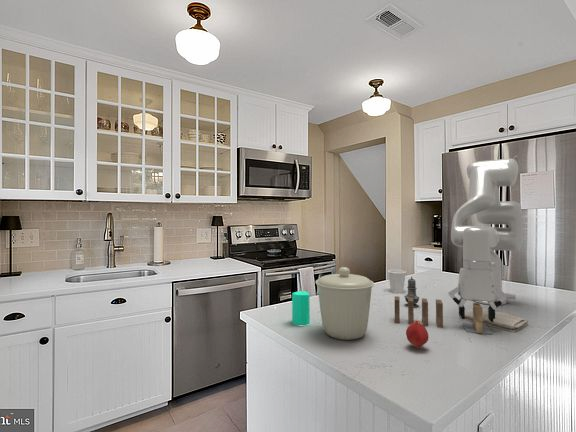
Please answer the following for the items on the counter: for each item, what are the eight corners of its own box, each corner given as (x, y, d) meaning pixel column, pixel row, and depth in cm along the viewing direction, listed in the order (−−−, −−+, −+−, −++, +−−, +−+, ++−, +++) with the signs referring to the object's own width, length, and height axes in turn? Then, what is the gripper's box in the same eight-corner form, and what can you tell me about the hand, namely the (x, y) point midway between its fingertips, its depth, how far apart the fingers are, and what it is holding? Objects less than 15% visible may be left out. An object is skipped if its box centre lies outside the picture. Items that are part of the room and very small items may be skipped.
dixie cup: (393, 288, 158) (393, 268, 158) (409, 291, 152) (409, 271, 152) (384, 291, 152) (384, 271, 152) (400, 294, 146) (400, 273, 146)
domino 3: (426, 321, 110) (426, 298, 110) (428, 326, 105) (427, 302, 105) (421, 321, 110) (421, 298, 110) (422, 325, 106) (422, 302, 106)
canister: (308, 340, 94) (307, 270, 94) (324, 321, 111) (323, 261, 111) (370, 349, 87) (369, 274, 87) (377, 327, 104) (376, 264, 104)
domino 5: (478, 328, 102) (478, 303, 102) (482, 333, 97) (482, 307, 98) (473, 327, 103) (473, 302, 103) (476, 332, 98) (476, 306, 98)
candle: (297, 327, 105) (297, 291, 105) (289, 322, 110) (289, 287, 110) (312, 324, 108) (312, 289, 108) (304, 319, 113) (303, 286, 113)
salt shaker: (421, 308, 125) (420, 278, 125) (405, 307, 126) (405, 277, 126) (418, 304, 131) (417, 275, 131) (403, 303, 132) (403, 275, 132)
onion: (402, 344, 91) (402, 316, 91) (421, 343, 91) (421, 315, 91) (412, 352, 85) (411, 323, 85) (432, 351, 85) (432, 322, 85)
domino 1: (399, 318, 113) (399, 296, 113) (399, 323, 108) (399, 300, 108) (394, 318, 113) (394, 296, 113) (394, 322, 109) (394, 299, 109)
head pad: (485, 325, 105) (485, 324, 105) (492, 334, 97) (492, 333, 97) (462, 323, 107) (462, 322, 107) (466, 331, 100) (466, 330, 100)
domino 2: (413, 320, 111) (412, 297, 111) (413, 324, 107) (413, 301, 106) (408, 319, 112) (408, 297, 112) (408, 324, 107) (408, 300, 107)
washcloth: (516, 334, 98) (516, 325, 98) (457, 320, 113) (457, 311, 113) (529, 326, 105) (529, 317, 105) (472, 313, 120) (472, 305, 120)
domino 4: (441, 322, 108) (440, 299, 108) (443, 327, 103) (442, 303, 103) (436, 322, 109) (435, 299, 109) (437, 327, 104) (437, 303, 104)
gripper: (503, 264, 103) (504, 318, 103) (445, 262, 109) (445, 313, 109) (511, 268, 96) (511, 326, 96) (448, 265, 102) (448, 320, 102)
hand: (476, 319), depth 102 cm, fingers open, 7 cm apart
